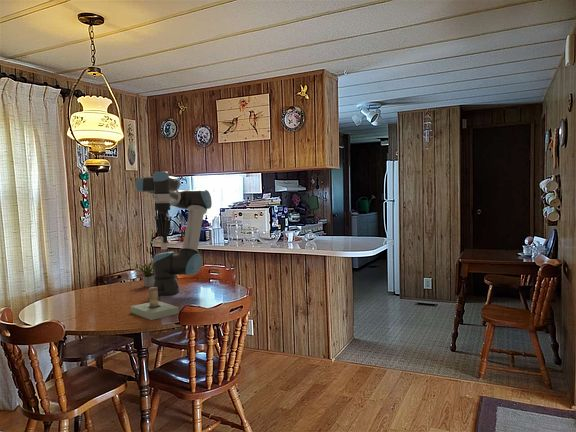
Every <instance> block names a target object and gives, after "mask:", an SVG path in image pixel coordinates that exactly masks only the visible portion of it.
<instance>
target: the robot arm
mask: <svg viewBox="0 0 576 432" xmlns="http://www.w3.org/2000/svg"><path fill="white" fill-rule="evenodd" d="M180 187H181V182H180V179H179V178H178V177H176V176H170V173H169V172H168V171H155V172H153V176H151V177H145V176H144V177H138V178H137V179H136V181H135V188H136V190H137V192H140V193H141V192H142V193H148V194H150V195H152V196H153V198H154V211H155V212H156V211H157V212H156V215H155V216H154V220H155V225H156V230H157V235H158V236H159V237H160V249H161V250H168V237H169V236H170V234H171V233H170V232H171V221H172V218H173V217H172V216H170V214H169V211H170V210H171V206H172V207H175V208H178V209H183V210H187V211H188V216H187V217H188V218H187V222H186V228H185V231H184V236H183V237H184V238H183V243H182V247H181V248H179V249H178V254H177V253H175V251H174V250H173V251H172V250H170V251H166V252H161V253H160V252H159V253H156V254H155V255H153V260H152V264H153V263H154V265H153V266H154V267H153V270H154V271H153V275H154V283H153V286H152V287H158V297H159V296H171V295H175V294H178V293H180V287H179V284H178V282H177V279H176V276H178V275H179V276H181V275H183V276H185V275H186V276H191V275H197V274H198V273H199V272H200V270H201V268H202V266H203V265H202V262H203V259H202V255H201V254H200V251H199V250H198V248H199V243H200V236H201V230H202V225H203V219H204V215H205V214H207V211H208V210H210V209H211V208H212V204H213V203H212V202H213V201H212V196H211V193H210V192H209V190H208V189H185V190H183V189H182V190H179V189H180Z"/></svg>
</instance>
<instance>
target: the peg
mask: <svg viewBox="0 0 576 432" xmlns="http://www.w3.org/2000/svg"><path fill="white" fill-rule="evenodd" d="M148 296H149V298H148V299H149V302H150V308H158V307H159V305H158V301H159V295H158V287H153V286H150V287H149V288H148ZM149 302H148V303H149Z"/></svg>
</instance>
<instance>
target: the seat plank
mask: <svg viewBox="0 0 576 432" xmlns="http://www.w3.org/2000/svg"><path fill="white" fill-rule="evenodd" d="M158 305H159V307H158V308H150V302H145V303H141V304H140V303H139V304H136V305H135V304H134V305H131V306H130V313H131V314H133V315H136V316H139V317H142V318H144V319H148V320H151V321H153V320H157V319H162V318H165V317H169V316H173V315H179V314H180V312H179V311H180V307H179V306H176V305H173V304H169V303H166V302H163V301H160V300H158ZM178 313H179V314H178Z"/></svg>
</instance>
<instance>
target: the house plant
mask: <svg viewBox="0 0 576 432" xmlns="http://www.w3.org/2000/svg"><path fill="white" fill-rule="evenodd" d="M146 262H147V264H146ZM146 262H144V261H142V262H141V263H142V264H140V266H141V267H140V266H137V268H138V269H139V271H140V272H142V273H143V274H144V275H142V281H143V284H144V287H146V288H148V287H149V288H151V287H153V283H154V263H153V260H151V261H150V262H149V261H148V260H147V261H146Z"/></svg>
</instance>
